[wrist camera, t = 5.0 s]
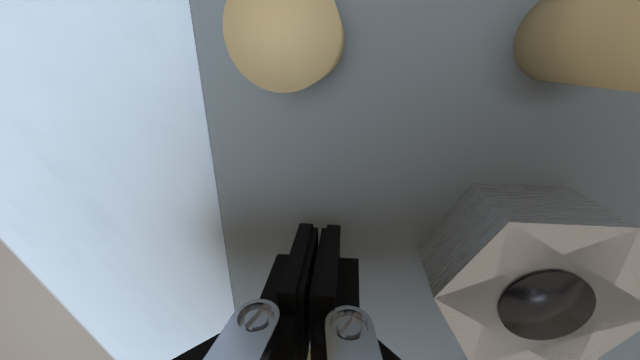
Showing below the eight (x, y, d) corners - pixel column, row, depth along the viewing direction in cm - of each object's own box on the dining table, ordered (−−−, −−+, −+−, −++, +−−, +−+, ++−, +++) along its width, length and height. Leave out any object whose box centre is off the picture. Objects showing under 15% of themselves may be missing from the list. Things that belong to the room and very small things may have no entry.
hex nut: (620, 187, 11) (713, 232, 8) (569, 312, 13) (629, 382, 10) (425, 181, 12) (448, 220, 9) (409, 300, 14) (423, 363, 11)
